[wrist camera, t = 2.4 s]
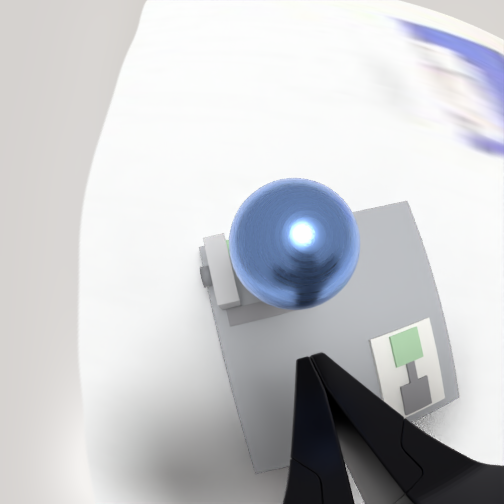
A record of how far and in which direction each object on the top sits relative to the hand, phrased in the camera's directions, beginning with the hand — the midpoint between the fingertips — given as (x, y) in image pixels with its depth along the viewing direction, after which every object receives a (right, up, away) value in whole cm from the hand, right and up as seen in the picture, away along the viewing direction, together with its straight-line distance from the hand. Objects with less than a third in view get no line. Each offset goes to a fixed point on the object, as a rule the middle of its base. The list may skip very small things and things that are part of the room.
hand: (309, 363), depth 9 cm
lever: (-1, +3, +7) cm, 7 cm away
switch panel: (+3, -1, +8) cm, 9 cm away
